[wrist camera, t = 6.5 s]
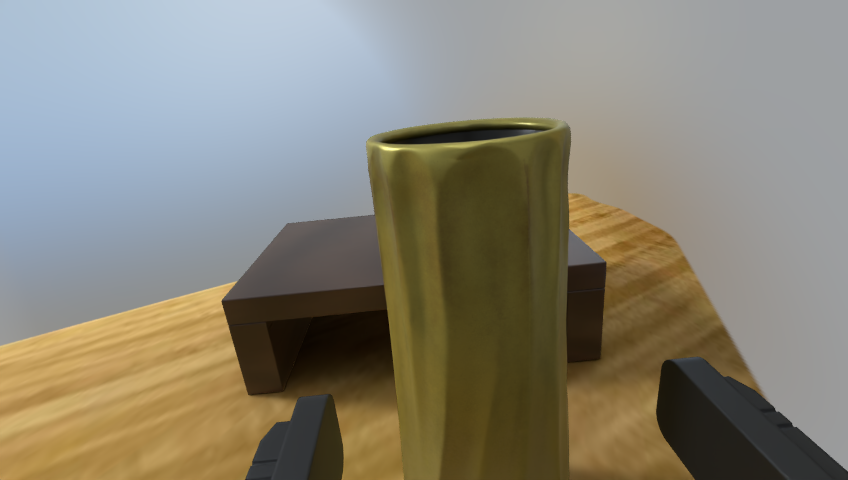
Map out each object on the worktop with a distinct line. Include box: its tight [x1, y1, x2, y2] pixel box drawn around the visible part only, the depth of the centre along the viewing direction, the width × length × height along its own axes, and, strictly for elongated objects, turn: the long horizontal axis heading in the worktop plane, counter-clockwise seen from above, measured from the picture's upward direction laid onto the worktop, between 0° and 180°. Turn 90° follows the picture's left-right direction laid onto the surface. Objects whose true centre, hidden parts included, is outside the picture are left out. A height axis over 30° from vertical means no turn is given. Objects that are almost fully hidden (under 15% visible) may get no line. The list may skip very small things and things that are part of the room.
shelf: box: [222, 215, 606, 395], centre depth 29 cm, size 20×13×6 cm, turn 93°
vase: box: [366, 118, 571, 480], centre depth 14 cm, size 6×6×14 cm
